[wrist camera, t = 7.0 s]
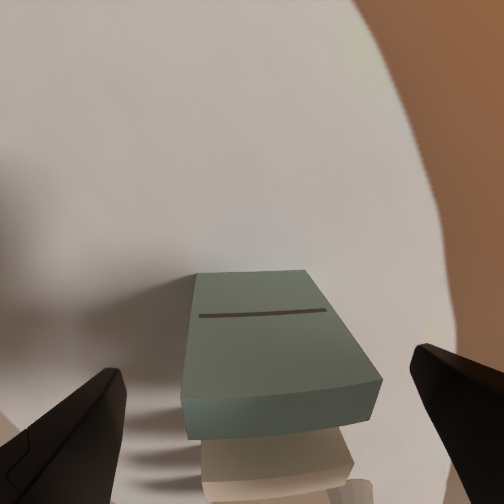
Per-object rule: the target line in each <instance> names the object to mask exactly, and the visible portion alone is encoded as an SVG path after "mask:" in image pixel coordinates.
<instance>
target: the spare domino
mask: <svg viewBox="0 0 504 504" xmlns="http://www.w3.org/2000/svg"><path fill="white" fill-rule="evenodd" d="M382 381H383V378H382V377H381V375H380V374H379V372H378V371H377V370H376V368H375V367H374V365H373V364H372V362H371V361H370V360H369V358H368V357H367V355H366V354H365V352H364V351H363V349H362V348H361V347H360V345H359V344H358V342H357V341H356V340H355V338H354V337H353V335H352V334H351V332H350V331H349V330H348V328H347V327H346V325H345V324H344V323H343V321H342V320H341V318H340V317H339V316H338V314H337V313H336V312H335V310H334V309H333V307H332V306H331V305H330V303H329V302H328V300H327V299H326V298H325V296H324V295H323V294H322V292H321V291H320V289H319V288H318V287H317V285H316V284H315V283H314V281H313V280H312V279H311V277H310V276H309V274H308V273H307V272H306V270H291V271H262V272H227V273H196V280H195V286H194V293H193V300H192V307H191V314H190V321H189V329H188V336H187V344H186V352H185V361H184V369H183V378H182V387H181V397H180V400H181V405H182V410H183V416H184V421H185V426H186V431H187V436H188V440H214V439H240V438H255V437H267V436H277V435H286V434H294V433H302V432H309V431H316V430H322V429H328V428H334V427H339V426H344V425H349V424H354V423H359V422H363V421H368V420H370V417H371V414H372V411H373V408H374V405H375V402H376V399H377V396H378V393H379V390H380V387H381V384H382Z"/></svg>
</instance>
